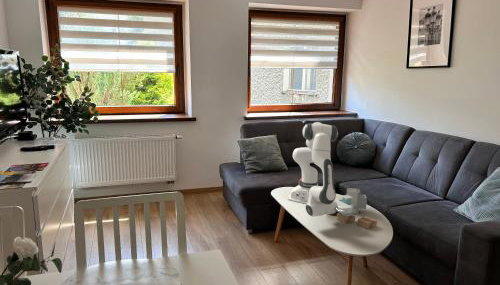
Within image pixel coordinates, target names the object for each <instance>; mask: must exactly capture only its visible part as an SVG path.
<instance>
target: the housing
mask: <svg viewBox="0 0 500 285" xmlns="http://www.w3.org/2000/svg"><path fill="white" fill-rule="evenodd" d="M341 199H342V202H343V203H345V204H347V205H350V204H351V202H352V199H353V197H351V196H349V195H347V194H344V195H341ZM339 213H340V212H339ZM340 214H341V215H343V216H345V217H346V216H351V215H352V213H346V214H342V213H340Z"/></svg>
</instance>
